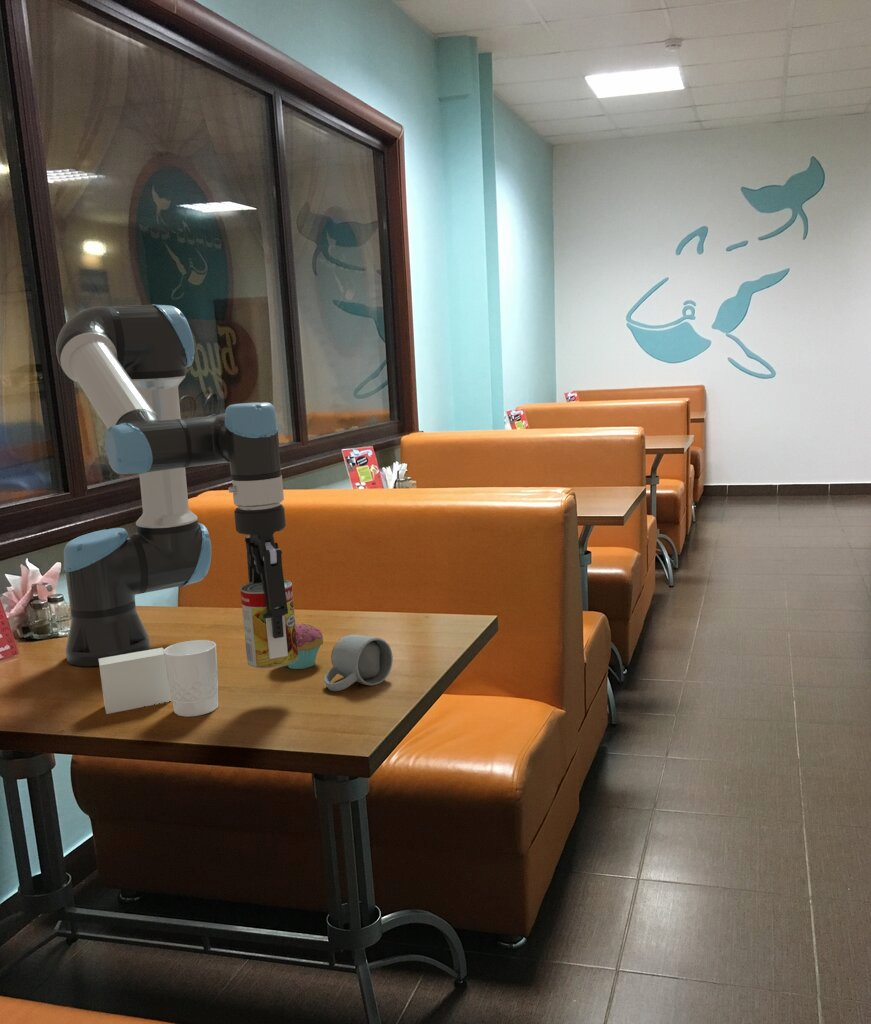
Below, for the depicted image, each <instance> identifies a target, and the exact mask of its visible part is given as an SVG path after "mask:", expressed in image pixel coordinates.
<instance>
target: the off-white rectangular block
mask: <svg viewBox="0 0 871 1024" xmlns="http://www.w3.org/2000/svg"><path fill="white" fill-rule="evenodd" d="M164 649H165V648H164V647H158V648H152V649H151V648H150V650H145V651H140V652H134V653H128V654H123V655H117V656H111V657H105V658H100V659H98V660H99V674H100V682H101V688H102V689H101V690H102V697H103V698H102V699H103V704H104V710H105V714H106V715H109V714H114V713H119V712H124V711H129V710H135V709H139V708H144V706H145V707H149V706H155V705H159V703H160V704H165V703H164V702H166V703H169V701H171V702H173V700H172V696H171V693H170V688H169V682H168V677H167V671H166V665H165V658H164V653H163V651H164ZM154 704H155V705H154Z"/></svg>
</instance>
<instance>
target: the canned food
mask: <svg viewBox="0 0 871 1024" xmlns="http://www.w3.org/2000/svg"><path fill="white" fill-rule="evenodd" d="M284 585H285V593H286V601H287V608H288V614H285V615H284V616H285V628H286V639H287V651H288V656H285V657H279V658H274V659H270V658H269V649H268V638H267V627H266V618H265V619H264V618H263V615H264V614H267V609H266V603H265V596H264V592H263V586H262V582H259V583H254V582H251V583H249V582H248V583H244V584H243V585H242V586H241V587H240V589H239V590H240V600H241V609H242V620H243V621H242V622H243V630H244V641H245V652H246V663H247V664H248V666H249V667H252V668H256V669H273V668H274V669H277V668H280V667H281V668H282V667H284V666H285V667H286V666H287V665H289V664H291V663H293V662H295V661H296V660H297V659H298V649H297V637H296V625H297V624H296V618H295V615H296V614H295V605H294V604H295V602H294V594H293V593H294V592H293V583H292V582H291V580H286V579H284ZM275 608H276V607H275Z"/></svg>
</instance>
